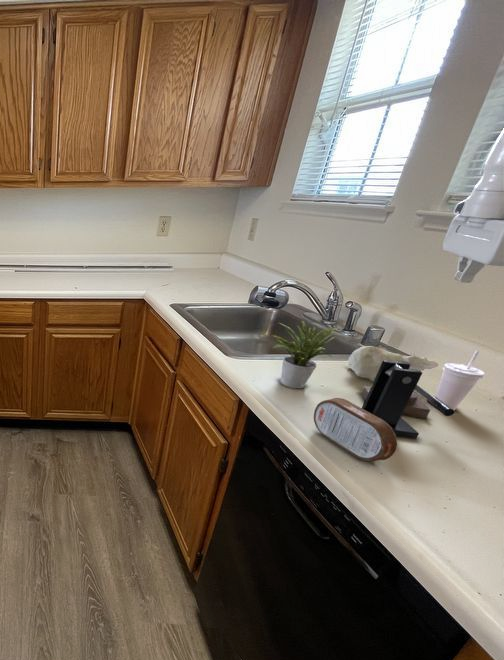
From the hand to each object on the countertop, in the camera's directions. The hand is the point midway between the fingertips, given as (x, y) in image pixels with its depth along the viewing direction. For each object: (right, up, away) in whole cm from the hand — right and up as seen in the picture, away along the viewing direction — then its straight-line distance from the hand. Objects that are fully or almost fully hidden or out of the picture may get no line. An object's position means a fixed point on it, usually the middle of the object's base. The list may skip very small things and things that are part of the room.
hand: (461, 281), depth 84 cm
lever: (-9, -23, +1) cm, 25 cm away
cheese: (+7, -20, +25) cm, 33 cm away
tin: (-26, -33, -2) cm, 42 cm away
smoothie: (+10, -27, +13) cm, 31 cm away
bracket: (-13, -30, +5) cm, 33 cm away
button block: (-2, -26, +13) cm, 29 cm away
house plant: (-18, -21, +23) cm, 36 cm away
